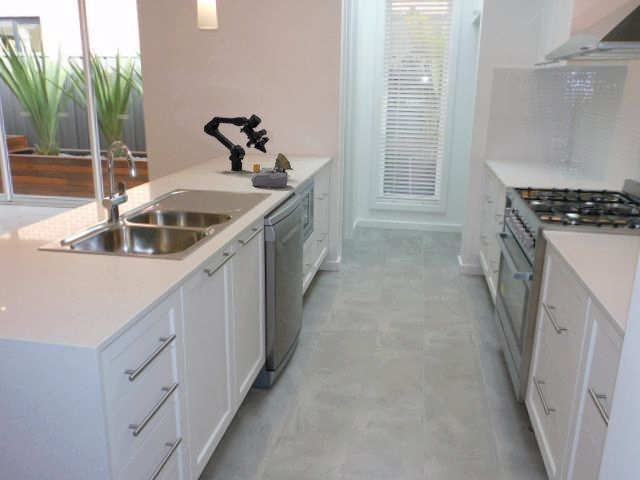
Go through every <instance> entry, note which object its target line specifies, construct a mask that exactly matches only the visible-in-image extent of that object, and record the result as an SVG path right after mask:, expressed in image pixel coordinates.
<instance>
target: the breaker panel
mask: <svg viewBox="0 0 640 480" xmlns="http://www.w3.org/2000/svg"><path fill="white" fill-rule="evenodd" d="M266 171H274V172H276V171H277V172H279V173H283V174H286V175H287V169H286V168H283V171H282V169H278V168H274V167H260V172H266ZM260 172H259V173H260Z"/></svg>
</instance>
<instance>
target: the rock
mask: <svg viewBox="0 0 640 480" xmlns="http://www.w3.org/2000/svg"><path fill="white" fill-rule="evenodd" d="M278 158H280V161H281V165H282V168H286V170H287V169H292V166H291V162H290V161H289V160H288V158H287V157H286V156H285V155H284V154H283V153H282V152H280V153H278V155H277V156H276V159H278ZM273 168H278V166H277V163H276V161H275V162H274V167H273Z"/></svg>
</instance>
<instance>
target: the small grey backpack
mask: <svg viewBox="0 0 640 480" xmlns="http://www.w3.org/2000/svg"><path fill="white" fill-rule="evenodd" d="M250 181H251V184H252V186H254V187H258V188H265V187H270V188H269V189H283V188H284V187H285V188H286V187H287V185H288V175H287V173H286V174H283V173H279V172H277V171H276V172H274V171H266V172H255V173H254V174H253V175H252V176H251V178H250Z"/></svg>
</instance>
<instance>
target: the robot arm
mask: <svg viewBox="0 0 640 480" xmlns="http://www.w3.org/2000/svg"><path fill="white" fill-rule="evenodd" d="M261 123H262V119H261V117H259V115H256V114H252V115H251V116H250V118H247V117H246V116H237V117H226V116H225V117H224V116H214V117H213V118H212V119H211V120H210V121H208V122H207V123H206V124H205V125H204V127H203V132H204V133H205V134H206V135H209V136H211V137H213V138H215V139H216V140H217V141H218V142H219V143H221V144H222V145H223V146H224V147H225V148H226V149H227V150H228V151H229V153H230V155H229V157H228V160H229V161H230V163H231V165H230V166H231V167H230V168H231V169H230V171H242V170H243V160H244V158H245V156H246V150H245V149H244V147H243V146H241V145H240V144H236V145H235V144H234V143H233V142H232V141H230V140H229V138H227V137H226V136H225V135H223V134H222V133H221V132H220V129H219V127H220V124H227V125H233V126H236V127H240V130H239V133H244V135H246V138H247V140H248V141H247V142H246V145H245V146H246V148H247V149H250V148H251V147H252V146H253V149H256V150H258V151H260V152H262V153H264V154H267V152H268V151H267V149H266V146H265V145H266V144H267V143H268V141H270V138H269V137H268V136H266V135H267V132H268V130H267V129H265V128H262V129H260V130H258V131H256V130H255V129H257V128H258V126H259V125H260V124H261Z"/></svg>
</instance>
